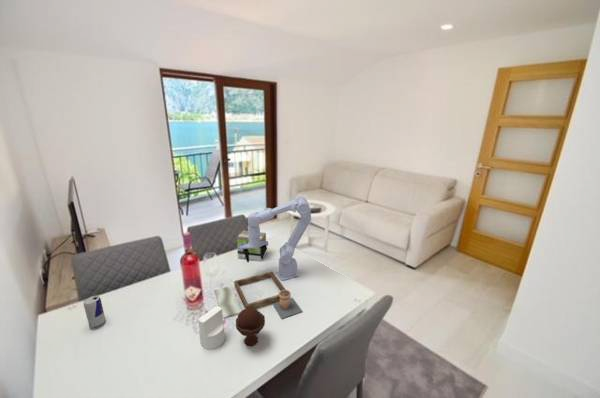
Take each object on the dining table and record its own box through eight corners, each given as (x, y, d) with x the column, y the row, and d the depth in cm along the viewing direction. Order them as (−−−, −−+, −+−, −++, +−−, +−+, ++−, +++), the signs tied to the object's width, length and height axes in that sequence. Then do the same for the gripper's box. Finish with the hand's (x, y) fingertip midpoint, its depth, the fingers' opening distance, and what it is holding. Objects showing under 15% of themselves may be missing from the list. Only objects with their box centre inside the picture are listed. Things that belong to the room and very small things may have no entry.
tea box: (237, 259, 158) (236, 236, 153) (243, 251, 167) (242, 229, 163) (261, 261, 156) (261, 239, 151) (266, 253, 165) (266, 231, 161)
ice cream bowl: (270, 335, 104) (270, 303, 99) (254, 357, 94) (253, 323, 90) (248, 326, 108) (247, 295, 104) (230, 346, 98) (228, 313, 94)
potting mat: (292, 298, 125) (292, 297, 125) (302, 312, 117) (302, 311, 116) (272, 304, 120) (272, 303, 120) (281, 319, 112) (281, 318, 112)
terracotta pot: (282, 301, 122) (282, 288, 120) (292, 304, 120) (292, 291, 118) (276, 308, 118) (276, 295, 115) (287, 312, 115) (287, 298, 113)
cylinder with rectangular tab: (211, 353, 95) (208, 326, 92) (195, 342, 100) (192, 316, 96) (229, 336, 103) (228, 311, 99) (214, 327, 107) (211, 302, 104)
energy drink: (109, 321, 108) (103, 297, 105) (95, 331, 104) (89, 305, 100) (100, 318, 110) (93, 293, 106) (86, 327, 105) (79, 302, 102)
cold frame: (272, 276, 142) (272, 271, 141) (288, 298, 125) (288, 293, 124) (214, 291, 128) (214, 286, 128) (223, 319, 111) (223, 313, 110)
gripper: (264, 230, 141) (265, 253, 145) (238, 235, 135) (239, 259, 139) (269, 236, 135) (270, 259, 139) (241, 241, 129) (243, 265, 133)
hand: (254, 259), depth 139 cm, fingers open, 7 cm apart
